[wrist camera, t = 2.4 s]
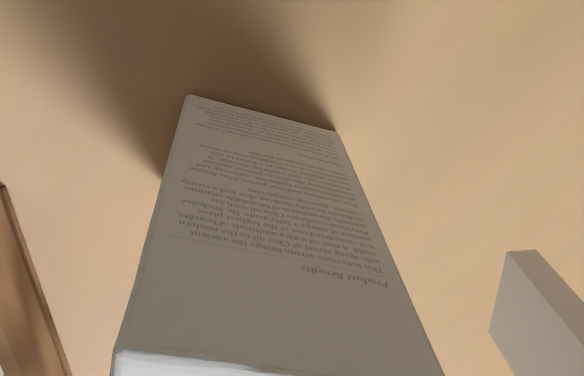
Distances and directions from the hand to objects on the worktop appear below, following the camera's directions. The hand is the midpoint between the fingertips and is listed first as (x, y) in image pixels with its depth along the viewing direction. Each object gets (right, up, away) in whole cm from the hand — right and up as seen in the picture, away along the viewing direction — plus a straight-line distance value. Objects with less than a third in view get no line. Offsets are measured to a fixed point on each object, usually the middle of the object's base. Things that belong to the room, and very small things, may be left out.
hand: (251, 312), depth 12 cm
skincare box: (0, +4, +7) cm, 8 cm away
